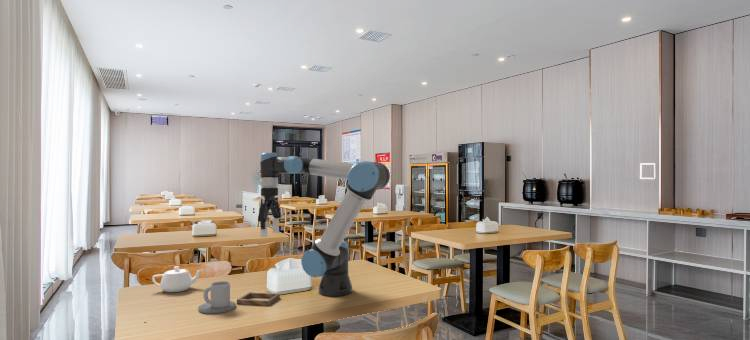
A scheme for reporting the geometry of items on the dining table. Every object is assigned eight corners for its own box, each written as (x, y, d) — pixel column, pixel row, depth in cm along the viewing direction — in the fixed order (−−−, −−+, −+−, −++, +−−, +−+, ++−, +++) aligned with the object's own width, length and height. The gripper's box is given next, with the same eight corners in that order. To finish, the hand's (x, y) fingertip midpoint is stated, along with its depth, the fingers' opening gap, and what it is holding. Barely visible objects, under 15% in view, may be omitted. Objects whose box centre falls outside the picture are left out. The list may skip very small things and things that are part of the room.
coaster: (241, 303, 177) (241, 301, 177) (223, 314, 163) (223, 312, 163) (211, 302, 180) (211, 299, 180) (190, 312, 166) (190, 310, 166)
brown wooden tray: (279, 298, 185) (279, 293, 185) (268, 305, 174) (268, 301, 174) (249, 296, 188) (249, 292, 188) (236, 304, 177) (236, 299, 177)
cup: (228, 308, 168) (228, 285, 168) (201, 309, 166) (201, 286, 167) (231, 302, 175) (231, 280, 175) (205, 304, 174) (205, 281, 174)
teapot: (149, 295, 189) (149, 271, 189) (154, 288, 202) (154, 265, 202) (202, 291, 196) (202, 267, 196) (204, 284, 209) (204, 261, 209)
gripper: (272, 186, 206) (273, 230, 206) (249, 188, 181) (249, 238, 181) (287, 186, 205) (288, 230, 204) (266, 188, 180) (266, 238, 180)
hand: (270, 234), depth 193 cm, fingers open, 13 cm apart
